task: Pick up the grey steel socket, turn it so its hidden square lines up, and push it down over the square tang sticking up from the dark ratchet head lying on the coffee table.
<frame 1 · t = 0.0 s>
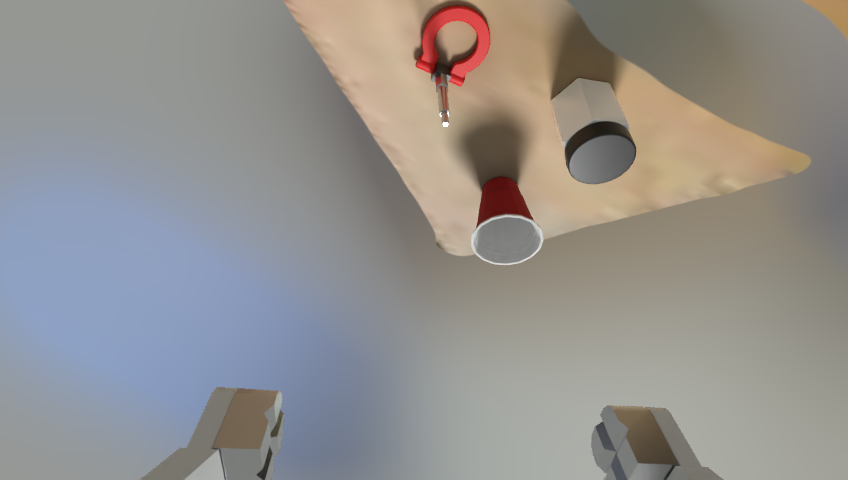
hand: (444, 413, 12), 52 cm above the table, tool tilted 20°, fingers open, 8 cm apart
jar: (580, 103, 65), on the table
tow hook: (453, 41, 58), on the table
plastic cup: (499, 187, 77), on the table
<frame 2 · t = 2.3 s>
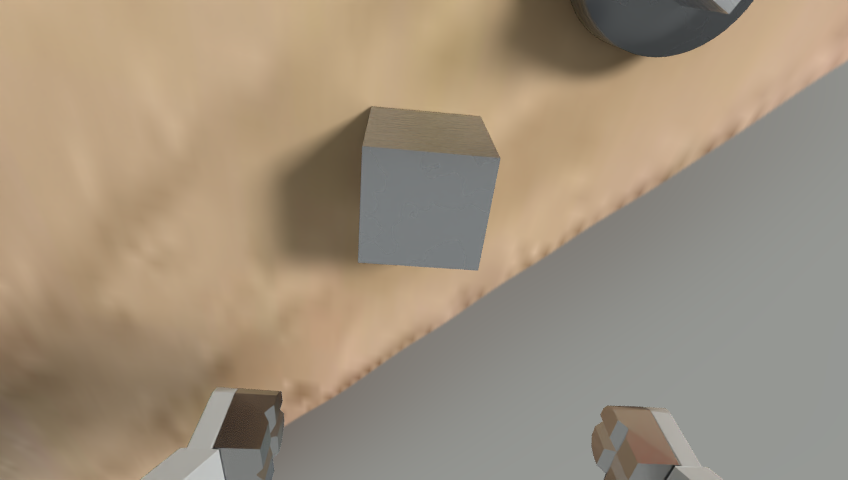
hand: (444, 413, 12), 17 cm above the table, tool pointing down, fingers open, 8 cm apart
socket: (421, 163, 26), on the table
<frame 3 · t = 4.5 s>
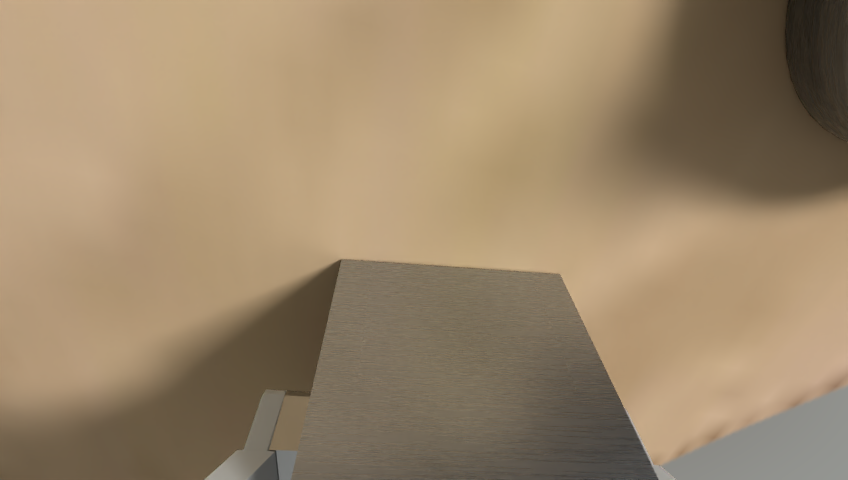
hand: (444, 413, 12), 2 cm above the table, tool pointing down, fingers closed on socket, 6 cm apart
socket: (439, 347, 14), on the table, touching gripper
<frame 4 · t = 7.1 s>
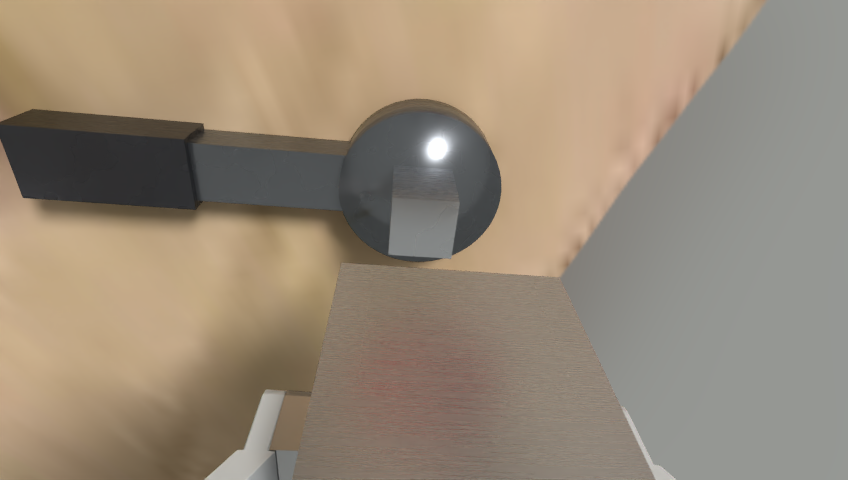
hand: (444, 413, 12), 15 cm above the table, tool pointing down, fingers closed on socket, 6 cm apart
ratchet: (418, 174, 25), on the table
socket: (439, 350, 14), point 13 cm above the table, touching gripper
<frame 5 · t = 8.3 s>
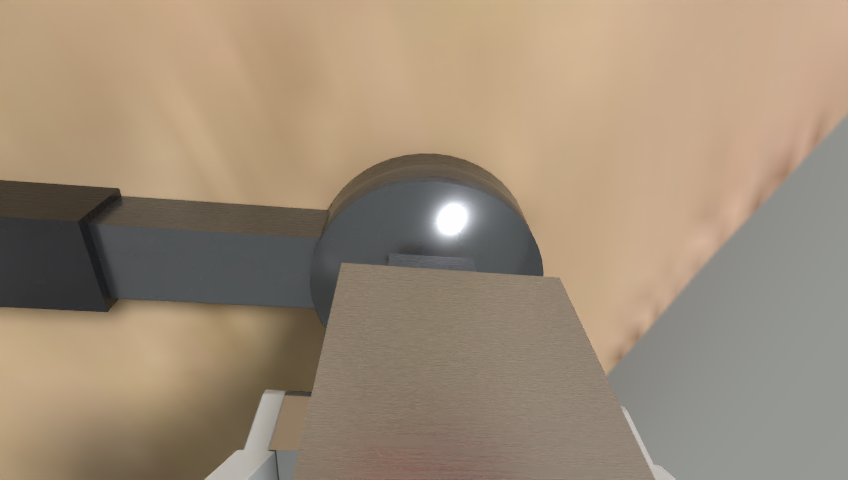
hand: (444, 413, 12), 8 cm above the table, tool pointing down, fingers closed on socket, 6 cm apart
ratchet: (424, 251, 18), on the table
socket: (439, 350, 14), point 5 cm above the table, touching gripper
when the fingers open (5 cm above the table, at t = 9.6 s): socket stays where it is, resting on ratchet.
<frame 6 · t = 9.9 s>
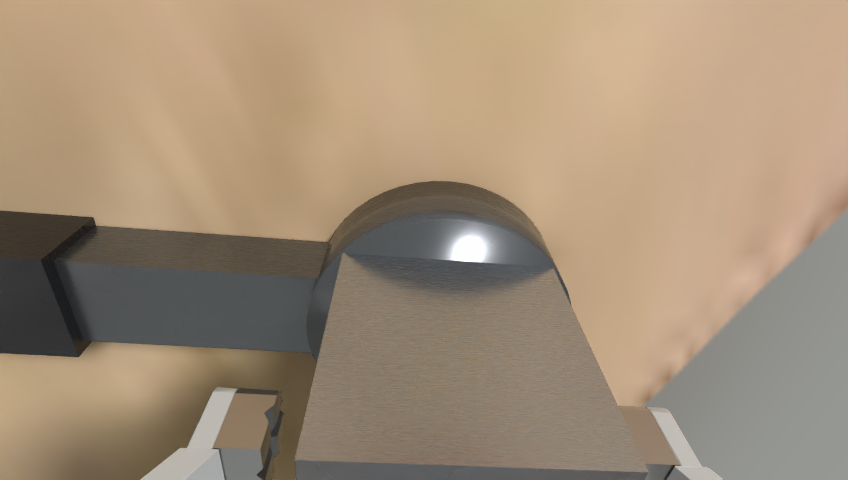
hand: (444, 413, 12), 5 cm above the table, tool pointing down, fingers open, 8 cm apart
ratchet: (435, 286, 16), on the table
socket: (437, 339, 14), point 2 cm above the table, touching ratchet
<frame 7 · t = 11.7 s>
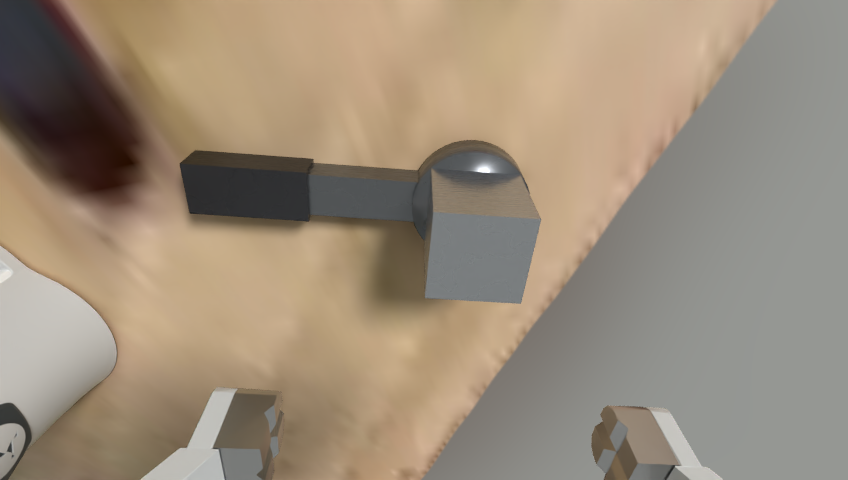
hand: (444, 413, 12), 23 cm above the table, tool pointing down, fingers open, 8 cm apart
ratchet: (467, 193, 33), on the table
socket: (470, 211, 31), point 2 cm above the table, touching ratchet
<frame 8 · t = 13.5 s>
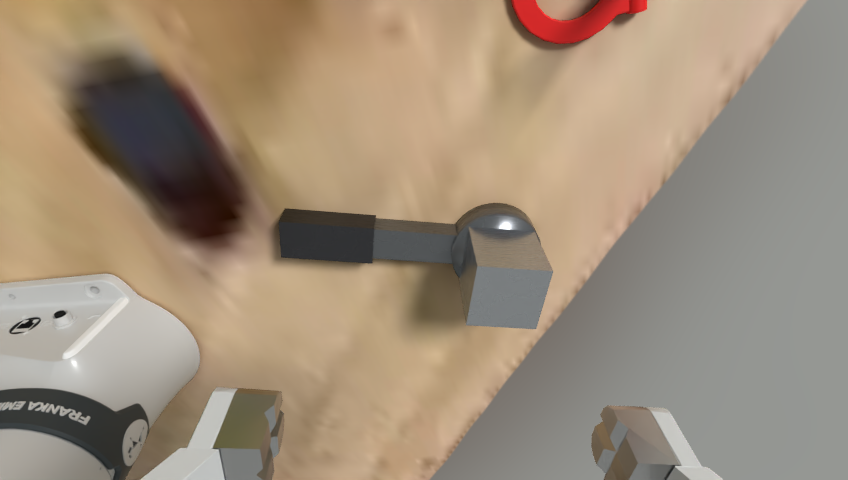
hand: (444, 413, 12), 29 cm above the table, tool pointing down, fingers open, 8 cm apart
ratchet: (492, 241, 43), on the table
socket: (495, 257, 41), point 2 cm above the table, touching ratchet
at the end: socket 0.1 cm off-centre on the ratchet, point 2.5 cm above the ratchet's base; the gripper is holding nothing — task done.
